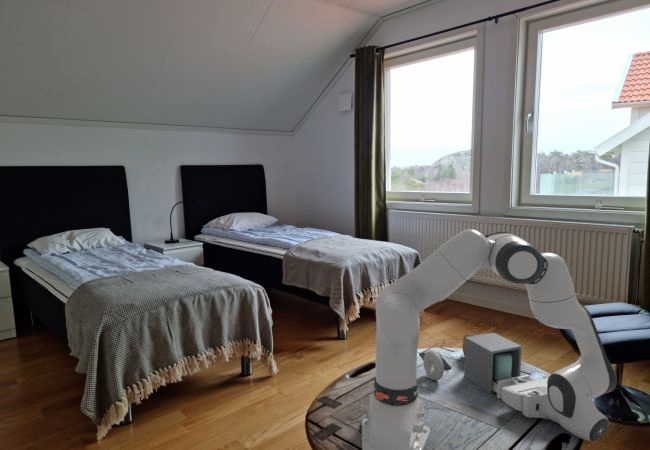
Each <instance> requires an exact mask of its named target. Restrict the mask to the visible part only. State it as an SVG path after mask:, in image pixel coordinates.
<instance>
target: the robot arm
mask: <svg viewBox="0 0 650 450" xmlns="http://www.w3.org/2000/svg"><path fill="white" fill-rule="evenodd" d="M483 269H491V270H492V272H494V273H495V274H496V275H498V276H500V277H501V278H502V279H503V280H505V281H507V282H509V283H512V284H520V285H523V284H524V285H525V287H526V291H527V292H526V293H527V297H528V301H529V306H530V310H531V311H532V314H533V317H534V318H536V320H537V321H538V322H539V323H541V324H542V325H545V326H548V327H551V328H554V329H563V330H566V329H567V330H571V331H572V333H573V337H574V339H575V341H576V344H577V347H578V348H579V349H578V350H579V352H580V356H579V358H578V360H576V361H575V362H573V363H571V364H569V365H567V366H565V367H563V368H561V369H559V370H556V371H555V372H553V373H551V374H550V375H549V377H544V378H540V379H535V380H534V379H533V380H529V381H528V380H524V379H521V378H515V379H511V384H512V385H511V386H507V387H503V388H502V390H501V398H500V399H501V400H502V401H503V402H504V403H505V404H506V405H508V406H509V407H511V408H513V409H514V410H516V411H518V412H522V415H523V416H524V417H526V418H540V419H545V420H546V419H547V420H550V421H552V422H554V423H558V424H559V425H560V426H561V427H562V428H563V429H565V430H566V431H567V432H569V433H571V434H573V435H575V436H576V437H578V438H579V439H582V440H585V441H588V442H596V441H598V440H599V439H601V438H603V437H604V436H605V434H606V433H607V432H608V430H609V426H610V421H609V418H608V417H607V416H606V415H605V414H603V413H602V412H601V411H599V409H598V408H597V407H596V406H597V405H595V403H594V401H593V400H596V399H597V398H598V397H600V396H603V395H605V394H609V393H610V392H613V391H614V390H615V389H616V387H617V382H618V381H617V373H616V371H615V368H614V367H613V365H612V363H611V362H610V360H609V358H608V355H607V353H606V351H605V348H604V346H603V342H602V339H601V337H600V335H599V332H598V330H597V329H598V328H597V327H596V324H595V321H594V319H593V317H592V314H591V313H590V311H589V309H588V308H586V307H585V306H584V305H583V304H582V303H581V304H580V302H579V300H578V298H577V294H576V291H575V287H574V283H573V279H572V276H571V273H570V270H569V268H568V266H567V263H566V261H565V260H564V259H563V257H561V256H560V255H559V254H556V253H552V252H542V253H541V252H540V250H538V249H537V247H536V246H534V245H532V244H531V243H529V242H528V241H526V240H525V239H524V238H522V237H521V236H518V235H516V234H513V233H510V232H506V231H499V232H494V233H490V234H486V235H484V234H483V233H481V232H480V231H478V230H476V229H473V228H467V229H464V230H462V231H461V232H459V233H457V234H455V235H454V236H452V237H451V238H449V239H448V240H447V241H445V242H444V243H442V244H441V245H440V246H438V248H437V249H436V250H435V251H433V252H432V253H431V254H430V255H429V256H427V257H426V258H425V259H424V260H423V261H422V262H421V263H419V264H417V266H416V267H414V268H413V269H412V270H410V271H409V272H407V273H406V274H404V275H403V276H401V277H400V278H398V279H397V280H395V281H394V282H392V283H391V284H390V285H387V286H386V287H384V288H383V289H382V290H381V291H380V292H379V294H378V295H377V298H376V299H375V318H376V319H375V320H376V321H375V322H376V326H375V327H376V328H375V329H376V330H375V331H376V332H375V334H376V335H375V340H376V341H375V377H374V382H373V393H372V394H370V395H369V413H368V414H367V415H366V418H363V419H362V420H361V421H362V422H361V450H424V448H425V445H426V444H427V442H428V439H429V438H430V436H431V429H430V427H429V426H427V425H425V424H424V423H425V422H424V421H425V420H424V402H423V401H422V400H421V399H420V398H419V382H418V380H417V374H418V373H417V371H418V370H417V368H418V366H417V364H418V363H417V362H418V361H417V360H418V357H417V356H418V348H419V341H420V339H419V338H420V325H421V323H420V322H421V318H420V313H421V312H423V310H425V309H427V308H428V307H430V306H432V305H434V304H436V303H439V302H442V301H444V300H446V299H447V298H448V297H449V296H451V295H452V294H453V293H454V292H455V291H456V290H458V289H459V288H460V287H461V286H462V285H463V284H465V283H466V282H467V281H468V280H469V279H470V278H472V276H474V274H475V273H477V272H480V271H481V270H483Z"/></svg>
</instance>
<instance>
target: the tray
mask: <svg viewBox="0 0 650 450" xmlns="http://www.w3.org/2000/svg"><path fill="white" fill-rule="evenodd" d="M515 378H521V379H524V380H528V381H530V375H529V374H525V375H520V376H519V377H512V376H511V378H510V379H505V380H501V381H498V384H497V383H495V382H493V378H492V390H494V391H495V393H496V398H497V399H499V400H500V399H502V398H501V390H502V388H503V387H507V386H511V385H512V384H511V379H515Z"/></svg>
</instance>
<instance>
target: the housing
mask: <svg viewBox="0 0 650 450" xmlns="http://www.w3.org/2000/svg"><path fill="white" fill-rule="evenodd" d="M476 335H477V336H471V337H465V356H464V370H463V371H464V375H463V376H464V377H465V378H466V379H468V380H469V381H471V382H473V383H474V384H475V385H476V386H478V387H480V388H481V389H483V390H484V391H485V392H487V393H489V394H494V393H496V392H495V391H494V390H492V378H493V371H494V354H495V353H500V352H507V353H509V354H511V355H512V369H511V376H512V377H519V376H521V368H522V367H521V366H522V364H521V363H522V345H520V344H518V343H516V342H515V341H514V342H513V341H512V340H510V339H507V338H506V337H503V335H502V336H501V335H500V334H497V333H495V332H490V333H489V332H488V333H484V334H476Z"/></svg>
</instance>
